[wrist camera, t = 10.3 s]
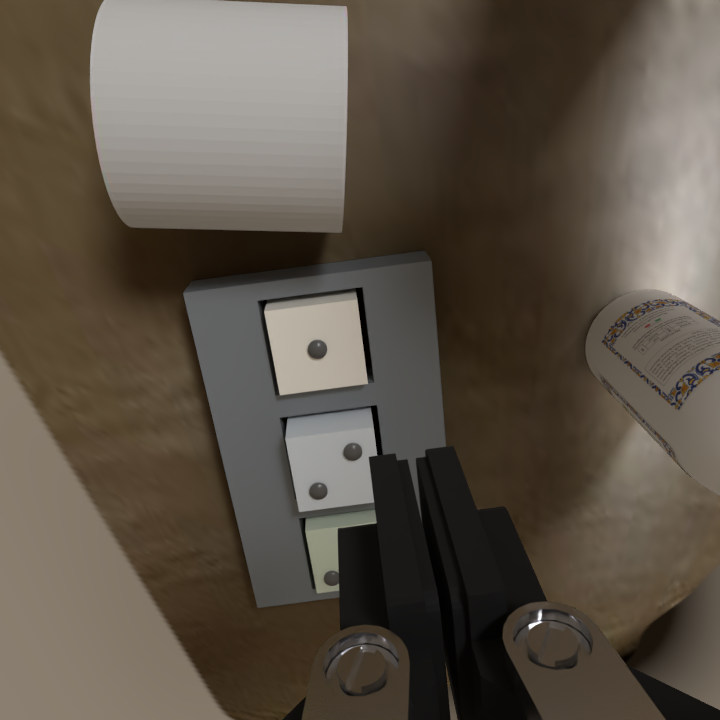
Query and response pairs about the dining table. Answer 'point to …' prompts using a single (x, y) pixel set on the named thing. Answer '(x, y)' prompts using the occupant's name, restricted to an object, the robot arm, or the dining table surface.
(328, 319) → the tile one
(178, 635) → the dining table surface
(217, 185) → the toilet paper
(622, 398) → the bath foam
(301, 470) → the tile two
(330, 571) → the tile three
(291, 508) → the board
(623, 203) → the dining table surface
